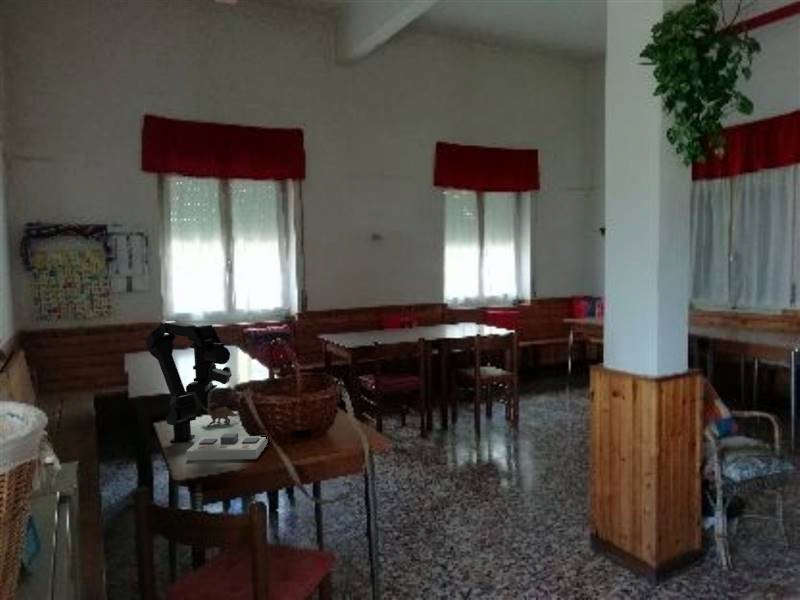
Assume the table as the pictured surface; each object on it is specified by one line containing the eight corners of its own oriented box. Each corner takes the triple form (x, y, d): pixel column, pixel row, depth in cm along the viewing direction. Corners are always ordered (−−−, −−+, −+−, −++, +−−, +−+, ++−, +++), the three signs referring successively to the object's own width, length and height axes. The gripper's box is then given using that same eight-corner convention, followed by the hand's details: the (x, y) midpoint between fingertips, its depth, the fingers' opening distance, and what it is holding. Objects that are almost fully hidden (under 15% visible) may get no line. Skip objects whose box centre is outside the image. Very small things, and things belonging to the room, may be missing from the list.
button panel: (202, 446, 204) (202, 436, 204) (267, 444, 203) (267, 434, 203) (186, 460, 190) (186, 449, 190) (256, 458, 189) (256, 448, 189)
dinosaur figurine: (199, 427, 228) (198, 402, 227) (203, 422, 233) (202, 399, 233) (237, 425, 229) (235, 400, 228) (239, 420, 234) (238, 397, 234)
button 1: (204, 446, 201) (204, 438, 200) (217, 445, 200) (217, 438, 200) (199, 450, 196) (199, 442, 196) (213, 450, 196) (212, 442, 196)
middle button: (225, 441, 200) (224, 433, 200) (238, 440, 200) (237, 433, 200) (220, 445, 196) (220, 437, 196) (234, 444, 196) (233, 437, 196)
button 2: (246, 445, 200) (246, 437, 200) (259, 444, 200) (259, 437, 200) (242, 449, 196) (242, 441, 196) (256, 449, 196) (255, 441, 195)
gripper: (218, 366, 192) (221, 414, 193) (236, 356, 211) (238, 400, 212) (183, 367, 193) (186, 415, 194) (204, 357, 211) (207, 401, 212)
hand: (206, 408), depth 203 cm, fingers closed
